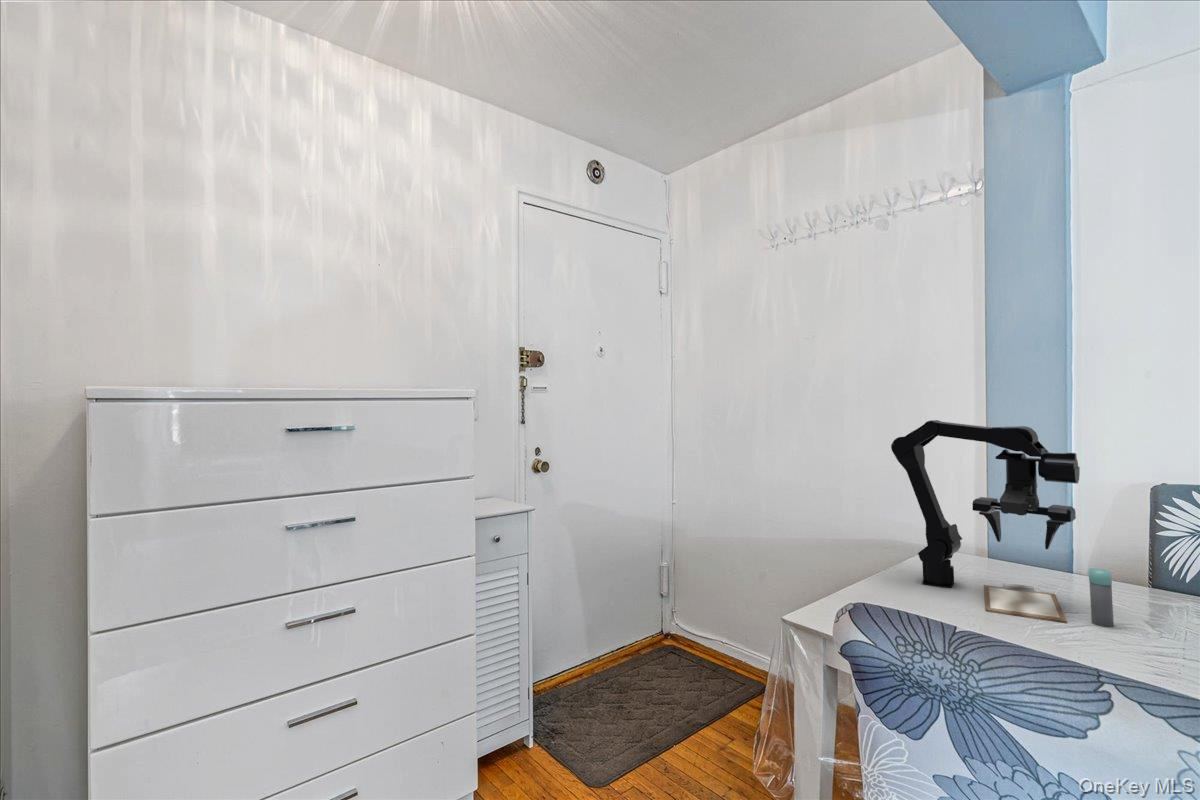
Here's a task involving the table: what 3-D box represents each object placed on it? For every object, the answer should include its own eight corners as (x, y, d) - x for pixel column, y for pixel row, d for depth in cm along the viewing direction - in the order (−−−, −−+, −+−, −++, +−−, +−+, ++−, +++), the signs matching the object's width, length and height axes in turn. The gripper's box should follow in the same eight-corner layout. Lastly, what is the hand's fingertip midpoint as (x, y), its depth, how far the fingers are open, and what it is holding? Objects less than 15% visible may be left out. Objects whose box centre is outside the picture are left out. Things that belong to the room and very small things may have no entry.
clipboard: (985, 611, 122) (985, 603, 122) (983, 586, 139) (983, 580, 139) (1066, 623, 114) (1066, 615, 114) (1055, 595, 131) (1054, 588, 131)
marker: (1092, 625, 113) (1090, 571, 113) (1089, 619, 116) (1087, 567, 116) (1115, 628, 111) (1112, 574, 111) (1112, 622, 114) (1109, 569, 114)
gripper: (964, 478, 131) (965, 543, 131) (1064, 487, 117) (1065, 560, 117) (979, 474, 138) (980, 536, 138) (1075, 482, 124) (1076, 550, 124)
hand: (1022, 545), depth 129 cm, fingers open, 9 cm apart
